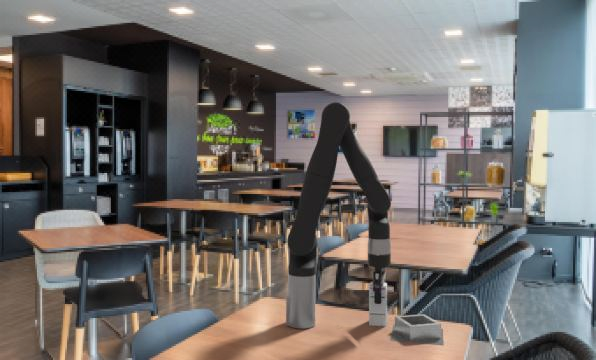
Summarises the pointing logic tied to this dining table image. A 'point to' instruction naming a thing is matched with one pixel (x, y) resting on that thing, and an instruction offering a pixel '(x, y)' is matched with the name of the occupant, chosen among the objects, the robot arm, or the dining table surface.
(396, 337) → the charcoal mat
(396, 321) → the metal sleeve
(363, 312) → the dining table surface
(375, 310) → the syrup box
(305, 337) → the dining table surface
